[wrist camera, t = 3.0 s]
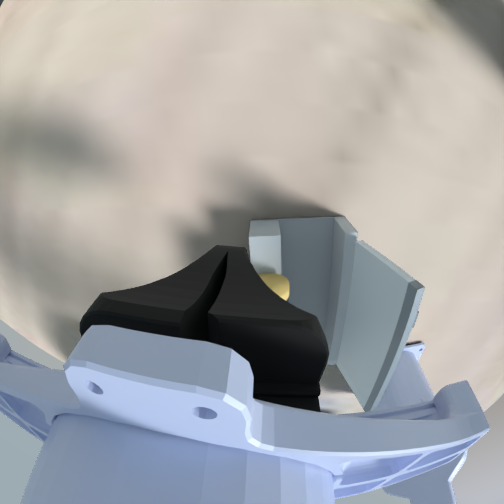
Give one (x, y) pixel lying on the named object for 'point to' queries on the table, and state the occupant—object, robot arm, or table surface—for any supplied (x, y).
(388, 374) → the cover
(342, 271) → the grey slotted block
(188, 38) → the table surface
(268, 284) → the banded gray rod
